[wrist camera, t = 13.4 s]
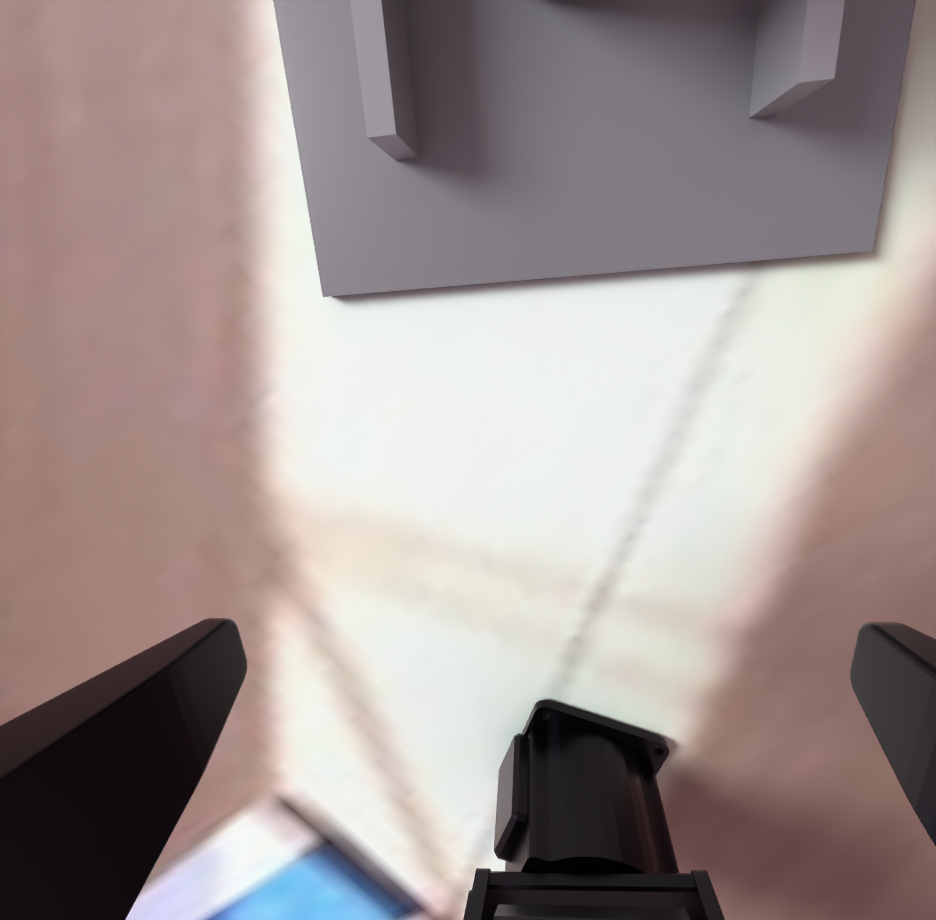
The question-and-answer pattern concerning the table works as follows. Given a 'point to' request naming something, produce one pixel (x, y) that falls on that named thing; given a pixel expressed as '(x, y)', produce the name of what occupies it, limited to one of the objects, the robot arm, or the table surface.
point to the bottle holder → (587, 133)
